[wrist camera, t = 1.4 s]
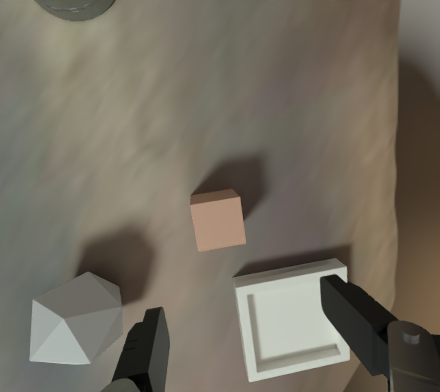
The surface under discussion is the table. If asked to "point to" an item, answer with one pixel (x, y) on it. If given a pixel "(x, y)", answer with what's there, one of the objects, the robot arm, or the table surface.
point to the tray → (287, 320)
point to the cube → (217, 219)
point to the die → (76, 321)
